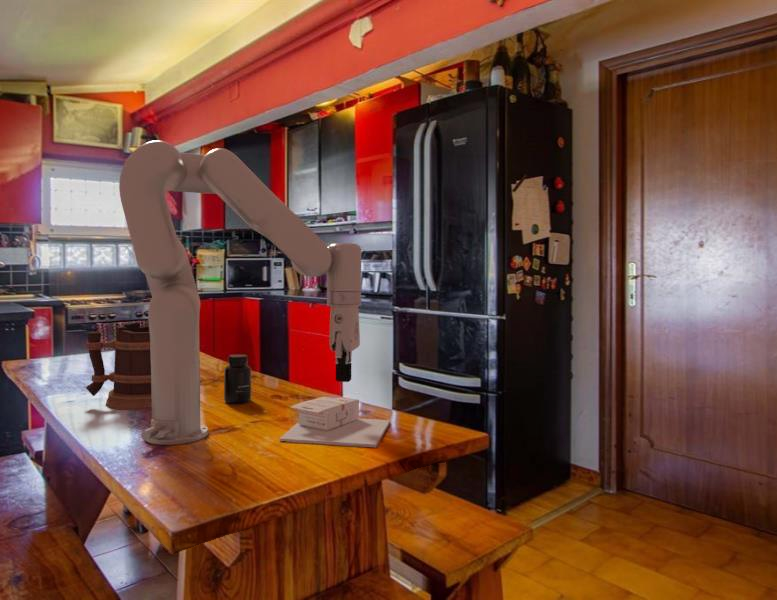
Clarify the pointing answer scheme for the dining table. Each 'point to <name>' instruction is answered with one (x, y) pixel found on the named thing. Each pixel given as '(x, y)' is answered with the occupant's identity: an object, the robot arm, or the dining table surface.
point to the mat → (340, 433)
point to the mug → (124, 367)
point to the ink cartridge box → (327, 412)
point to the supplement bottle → (237, 380)
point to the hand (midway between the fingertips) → (343, 380)
